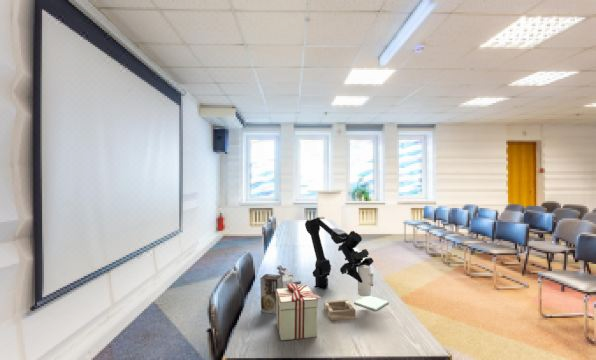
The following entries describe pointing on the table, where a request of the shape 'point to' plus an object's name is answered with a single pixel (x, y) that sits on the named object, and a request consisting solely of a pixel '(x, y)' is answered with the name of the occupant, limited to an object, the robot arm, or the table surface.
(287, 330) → the gift box
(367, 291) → the white tall cylinder
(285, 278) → the white cup
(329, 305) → the collar
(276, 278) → the coffee box
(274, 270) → the table surface
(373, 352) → the table surface
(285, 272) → the gun
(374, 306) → the pad
